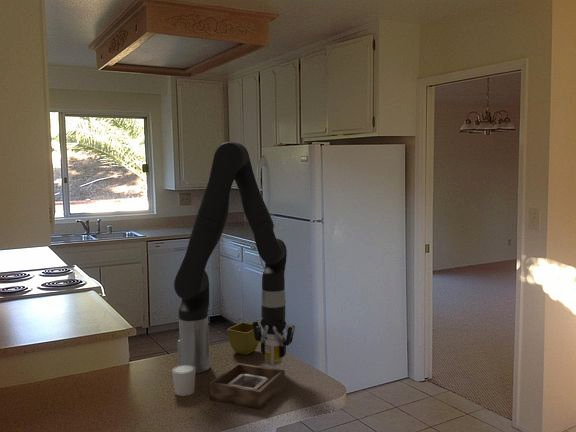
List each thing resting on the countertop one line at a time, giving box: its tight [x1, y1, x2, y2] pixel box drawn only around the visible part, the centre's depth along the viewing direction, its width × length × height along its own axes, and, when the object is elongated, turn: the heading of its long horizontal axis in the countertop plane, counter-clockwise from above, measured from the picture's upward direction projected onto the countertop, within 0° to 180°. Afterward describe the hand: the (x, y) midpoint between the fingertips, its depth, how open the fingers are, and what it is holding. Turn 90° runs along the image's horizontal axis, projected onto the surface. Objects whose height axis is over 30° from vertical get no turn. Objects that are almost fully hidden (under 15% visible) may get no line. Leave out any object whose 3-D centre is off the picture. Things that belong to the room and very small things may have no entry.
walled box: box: [209, 362, 286, 410], centre depth 159 cm, size 16×16×5 cm
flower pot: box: [227, 322, 262, 356], centre depth 192 cm, size 9×9×9 cm
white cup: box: [171, 365, 196, 397], centre depth 161 cm, size 7×7×7 cm
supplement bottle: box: [264, 334, 283, 367], centre depth 172 cm, size 5×5×10 cm
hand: (273, 355), depth 172 cm, fingers closed on supplement bottle, 5 cm apart
